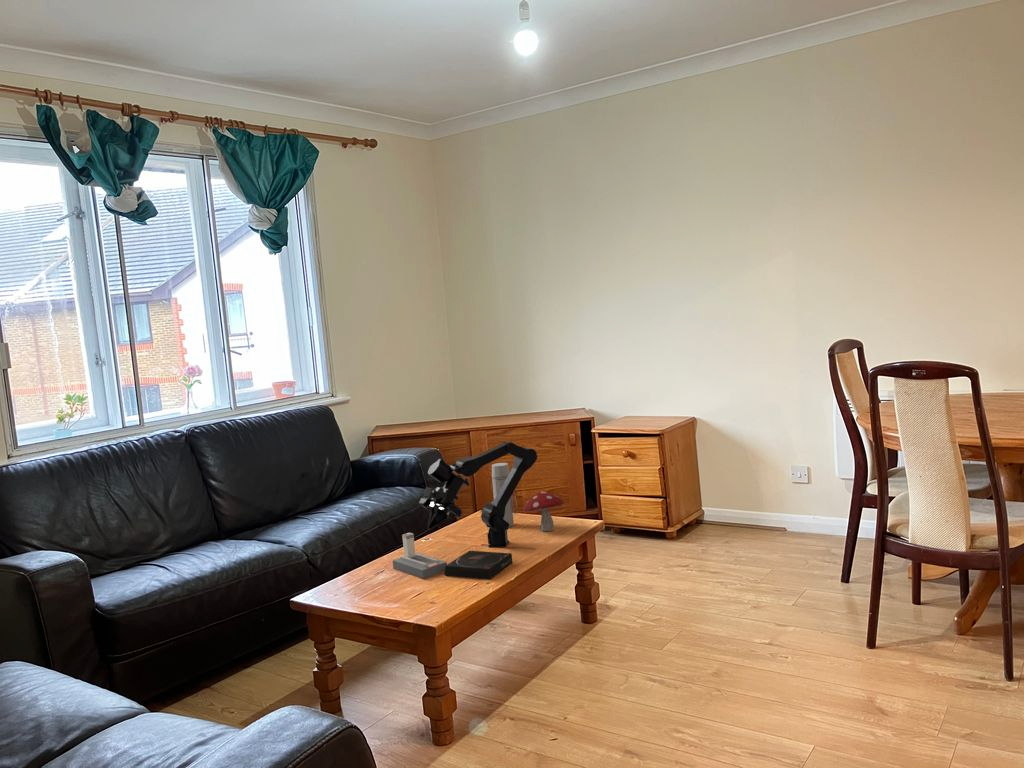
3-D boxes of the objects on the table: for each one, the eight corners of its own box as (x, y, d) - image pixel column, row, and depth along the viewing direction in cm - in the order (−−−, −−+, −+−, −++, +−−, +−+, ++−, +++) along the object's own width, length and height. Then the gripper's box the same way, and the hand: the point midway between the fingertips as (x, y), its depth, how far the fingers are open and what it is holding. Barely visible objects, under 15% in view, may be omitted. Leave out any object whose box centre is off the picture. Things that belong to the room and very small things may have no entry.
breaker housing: (417, 560, 283) (416, 549, 283) (447, 570, 270) (446, 559, 269) (393, 568, 277) (392, 557, 276) (423, 579, 263) (422, 567, 263)
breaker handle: (411, 554, 279) (409, 532, 278) (415, 556, 277) (413, 533, 276) (404, 557, 277) (401, 534, 276) (408, 558, 275) (406, 536, 274)
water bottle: (494, 529, 316) (488, 466, 314) (497, 523, 324) (492, 462, 321) (517, 528, 314) (511, 465, 312) (520, 522, 322) (515, 461, 320)
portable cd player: (469, 561, 279) (468, 550, 279) (512, 564, 271) (511, 553, 271) (444, 577, 265) (443, 565, 264) (490, 581, 257) (489, 569, 257)
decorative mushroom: (520, 536, 303) (516, 497, 302) (531, 524, 318) (528, 487, 317) (560, 536, 298) (557, 497, 297) (570, 524, 313) (567, 487, 312)
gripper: (420, 475, 286) (398, 512, 280) (452, 480, 272) (429, 520, 266) (440, 491, 292) (418, 528, 286) (472, 497, 278) (450, 536, 272)
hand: (428, 528), depth 278 cm, fingers closed
